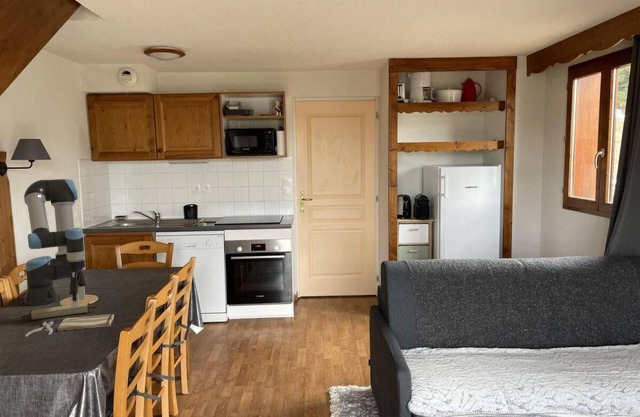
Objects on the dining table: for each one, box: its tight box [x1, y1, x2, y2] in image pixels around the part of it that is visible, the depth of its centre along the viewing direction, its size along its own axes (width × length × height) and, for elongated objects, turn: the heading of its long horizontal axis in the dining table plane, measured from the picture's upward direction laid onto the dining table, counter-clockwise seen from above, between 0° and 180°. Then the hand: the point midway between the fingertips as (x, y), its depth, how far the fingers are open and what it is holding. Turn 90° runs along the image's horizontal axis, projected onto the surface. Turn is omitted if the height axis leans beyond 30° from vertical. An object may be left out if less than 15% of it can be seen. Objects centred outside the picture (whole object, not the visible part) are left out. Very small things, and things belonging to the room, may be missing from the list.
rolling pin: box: [21, 302, 99, 322], centre depth 222 cm, size 32×6×5 cm, turn 115°
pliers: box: [24, 320, 54, 338], centre depth 205 cm, size 10×2×15 cm
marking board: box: [56, 313, 115, 332], centre depth 211 cm, size 13×21×2 cm, turn 106°
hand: (78, 303), depth 225 cm, fingers open, 13 cm apart
